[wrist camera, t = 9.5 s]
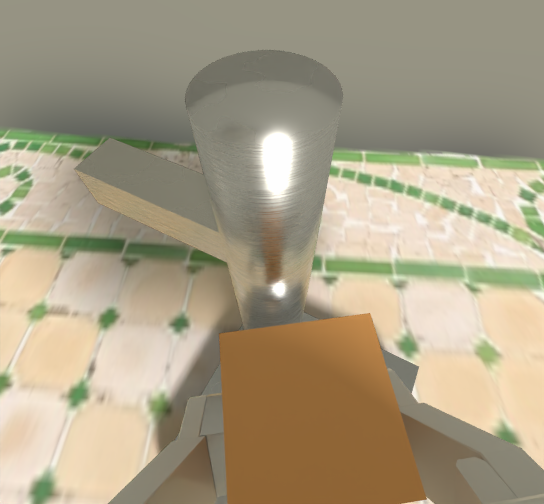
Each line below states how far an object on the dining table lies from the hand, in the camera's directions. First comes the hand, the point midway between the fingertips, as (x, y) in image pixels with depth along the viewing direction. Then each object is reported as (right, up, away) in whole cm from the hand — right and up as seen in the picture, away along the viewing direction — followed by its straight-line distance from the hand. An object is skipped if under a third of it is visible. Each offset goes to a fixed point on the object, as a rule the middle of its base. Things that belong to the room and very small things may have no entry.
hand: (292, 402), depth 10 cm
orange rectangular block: (0, -3, +4) cm, 5 cm away
